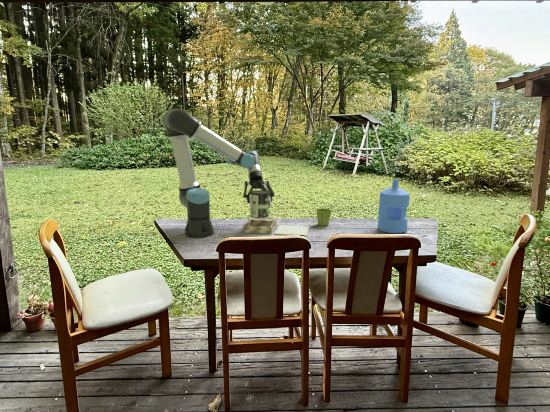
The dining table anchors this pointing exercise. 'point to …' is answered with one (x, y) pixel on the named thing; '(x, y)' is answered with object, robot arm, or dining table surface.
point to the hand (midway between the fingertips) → (261, 207)
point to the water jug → (393, 209)
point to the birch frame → (259, 226)
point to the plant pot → (323, 216)
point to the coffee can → (260, 204)
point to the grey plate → (292, 230)
